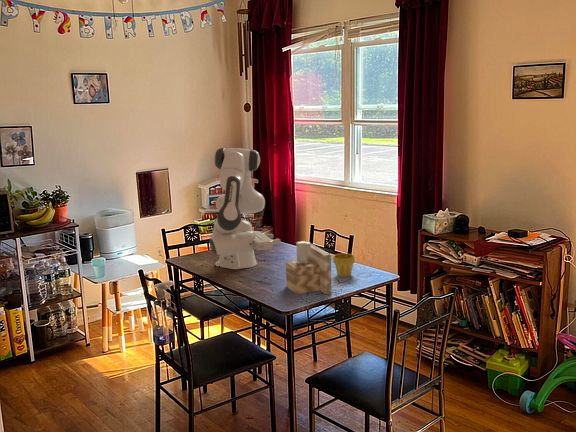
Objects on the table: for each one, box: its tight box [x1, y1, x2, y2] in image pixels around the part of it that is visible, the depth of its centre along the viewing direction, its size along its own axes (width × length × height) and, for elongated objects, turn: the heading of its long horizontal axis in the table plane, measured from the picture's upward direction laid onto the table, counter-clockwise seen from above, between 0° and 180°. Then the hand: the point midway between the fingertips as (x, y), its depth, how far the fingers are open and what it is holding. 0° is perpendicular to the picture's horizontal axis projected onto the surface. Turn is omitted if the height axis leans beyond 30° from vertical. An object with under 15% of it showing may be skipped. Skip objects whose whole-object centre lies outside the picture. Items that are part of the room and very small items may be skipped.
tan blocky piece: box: [285, 243, 333, 295], centre depth 266 cm, size 15×24×18 cm, turn 20°
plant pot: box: [333, 252, 355, 278], centre depth 285 cm, size 10×10×10 cm
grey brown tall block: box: [295, 240, 312, 266], centre depth 265 cm, size 6×3×14 cm, turn 111°
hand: (276, 238), depth 258 cm, fingers open, 8 cm apart
